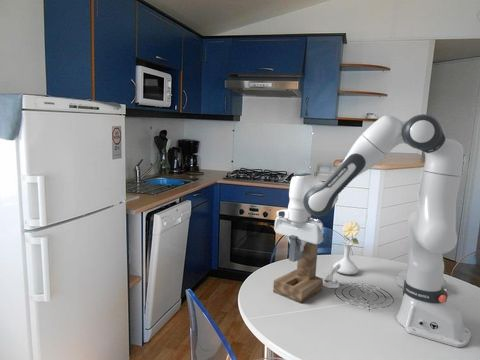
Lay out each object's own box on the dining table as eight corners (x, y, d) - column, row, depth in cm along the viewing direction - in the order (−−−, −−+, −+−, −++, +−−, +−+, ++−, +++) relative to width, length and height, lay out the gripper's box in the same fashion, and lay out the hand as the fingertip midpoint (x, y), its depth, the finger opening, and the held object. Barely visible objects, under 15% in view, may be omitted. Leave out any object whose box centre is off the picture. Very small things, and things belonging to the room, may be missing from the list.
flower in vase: (327, 267, 175) (332, 216, 171) (348, 266, 178) (353, 215, 174) (343, 279, 162) (348, 224, 158) (365, 277, 166) (370, 223, 162)
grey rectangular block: (303, 257, 147) (305, 233, 145) (292, 262, 141) (294, 237, 139) (298, 255, 148) (300, 232, 147) (287, 260, 142) (289, 235, 141)
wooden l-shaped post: (322, 290, 151) (326, 236, 147) (300, 303, 139) (305, 244, 135) (295, 280, 159) (298, 228, 156) (273, 292, 147) (276, 236, 144)
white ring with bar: (350, 280, 149) (336, 269, 149) (331, 297, 154) (318, 286, 155) (352, 270, 155) (338, 260, 156) (334, 286, 161) (321, 276, 162)
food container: (434, 302, 145) (437, 286, 144) (387, 283, 160) (389, 268, 159) (454, 289, 158) (457, 274, 157) (408, 273, 173) (410, 259, 172)
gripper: (327, 219, 137) (324, 254, 139) (282, 208, 151) (280, 241, 153) (318, 222, 133) (315, 258, 135) (273, 210, 146) (270, 244, 148)
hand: (296, 249), depth 144 cm, fingers closed on grey rectangular block, 2 cm apart
